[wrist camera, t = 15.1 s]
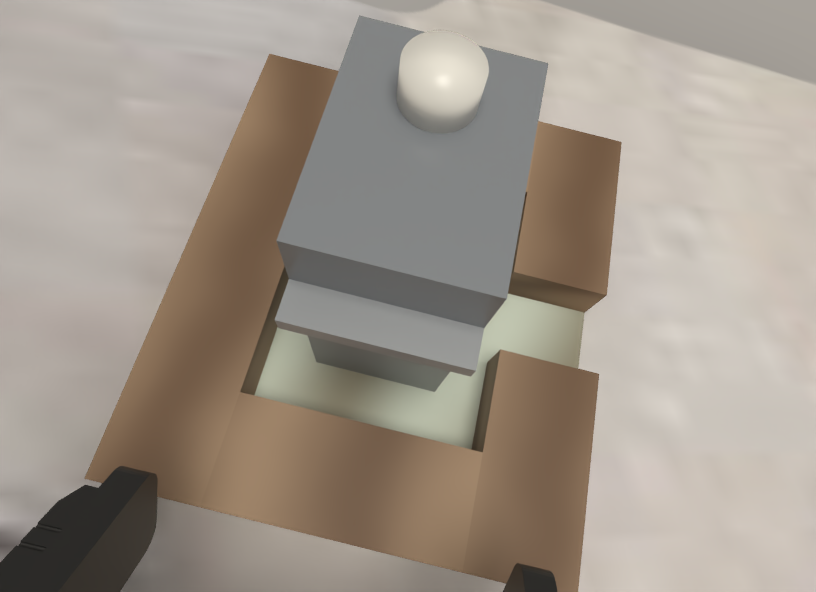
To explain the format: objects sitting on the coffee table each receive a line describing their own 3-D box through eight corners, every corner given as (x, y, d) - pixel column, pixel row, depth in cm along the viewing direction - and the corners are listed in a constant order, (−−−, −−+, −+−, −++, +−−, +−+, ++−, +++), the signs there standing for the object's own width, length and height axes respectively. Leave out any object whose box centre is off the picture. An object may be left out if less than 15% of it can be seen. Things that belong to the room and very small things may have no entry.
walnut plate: (122, 480, 18) (84, 478, 15) (278, 98, 24) (269, 53, 21) (547, 585, 18) (576, 600, 15) (594, 177, 24) (621, 142, 21)
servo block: (308, 388, 19) (247, 266, 9) (365, 202, 22) (371, -56, 11) (428, 418, 19) (513, 333, 9) (469, 229, 22) (569, -6, 11)
